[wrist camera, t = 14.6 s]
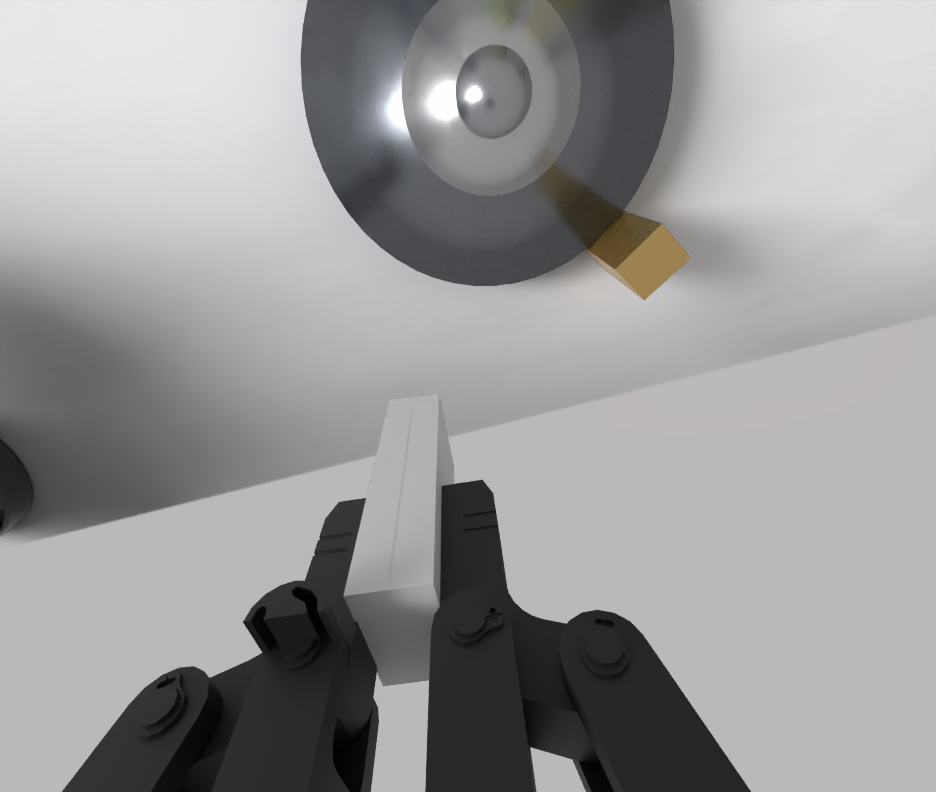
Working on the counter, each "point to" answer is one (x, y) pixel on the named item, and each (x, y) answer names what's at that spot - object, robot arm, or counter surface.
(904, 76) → the counter surface
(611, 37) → the turntable
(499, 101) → the cover
